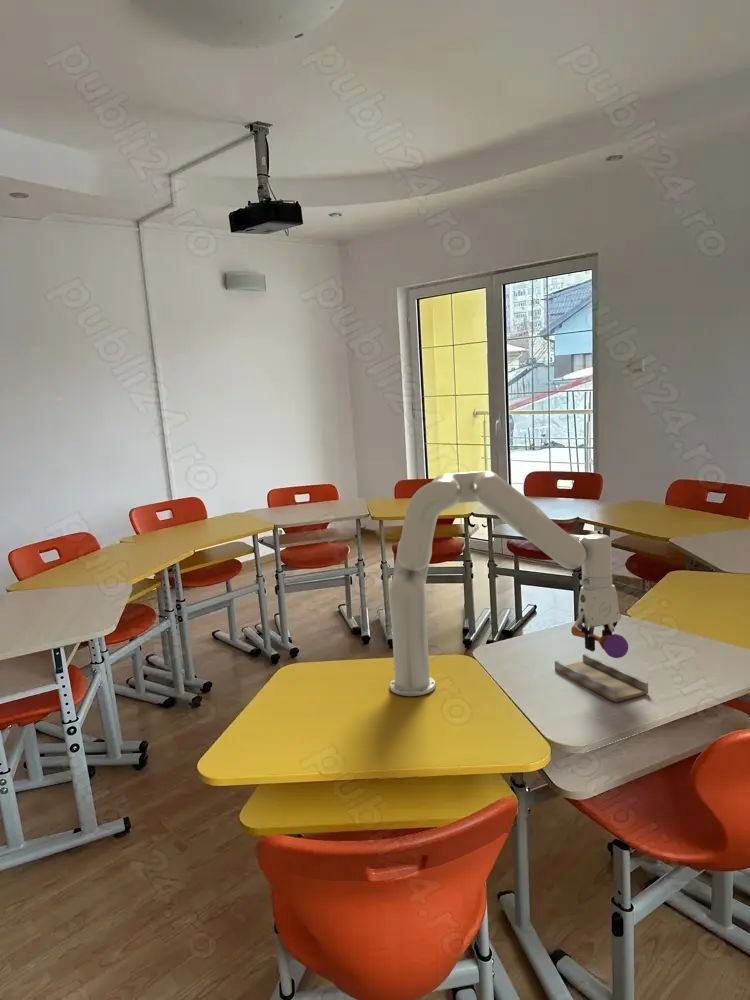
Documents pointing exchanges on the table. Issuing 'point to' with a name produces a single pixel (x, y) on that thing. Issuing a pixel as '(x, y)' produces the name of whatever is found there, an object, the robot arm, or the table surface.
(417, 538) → the robot arm
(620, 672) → the rail cradle
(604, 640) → the kendama
